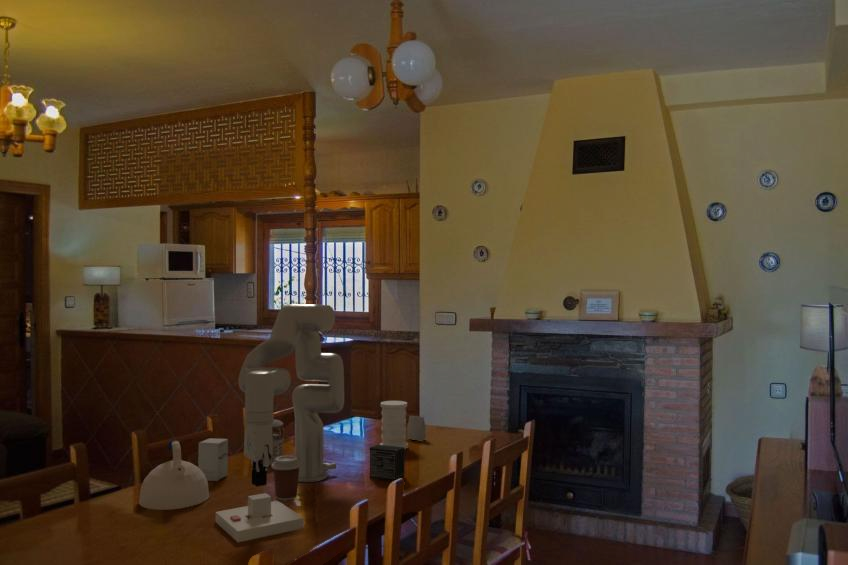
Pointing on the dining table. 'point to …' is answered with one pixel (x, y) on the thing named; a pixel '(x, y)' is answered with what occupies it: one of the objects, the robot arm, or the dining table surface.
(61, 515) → the dining table surface
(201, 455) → the supplement box
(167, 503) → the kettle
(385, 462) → the small box
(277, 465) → the coffee cup
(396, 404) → the decorative container
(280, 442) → the french press
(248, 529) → the socket
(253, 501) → the plug
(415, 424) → the grey tapered block
